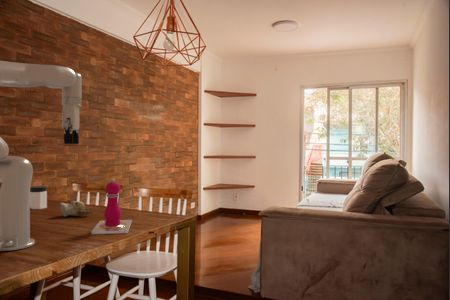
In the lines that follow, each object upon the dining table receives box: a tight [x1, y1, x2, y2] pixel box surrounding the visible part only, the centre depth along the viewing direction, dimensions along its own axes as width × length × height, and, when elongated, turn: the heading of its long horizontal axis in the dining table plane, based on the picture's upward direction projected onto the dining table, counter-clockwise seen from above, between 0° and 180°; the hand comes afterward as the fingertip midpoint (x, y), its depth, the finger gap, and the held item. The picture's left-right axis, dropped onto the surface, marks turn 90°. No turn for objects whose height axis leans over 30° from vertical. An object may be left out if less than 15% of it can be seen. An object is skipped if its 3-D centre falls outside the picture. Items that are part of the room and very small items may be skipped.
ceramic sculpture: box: [59, 198, 93, 217], centre depth 174 cm, size 11×9×15 cm
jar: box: [30, 185, 48, 210], centre depth 193 cm, size 9×8×12 cm
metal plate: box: [90, 219, 133, 236], centre depth 149 cm, size 20×14×1 cm
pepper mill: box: [103, 178, 122, 226], centre depth 148 cm, size 7×7×20 cm
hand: (71, 143), depth 143 cm, fingers open, 9 cm apart
